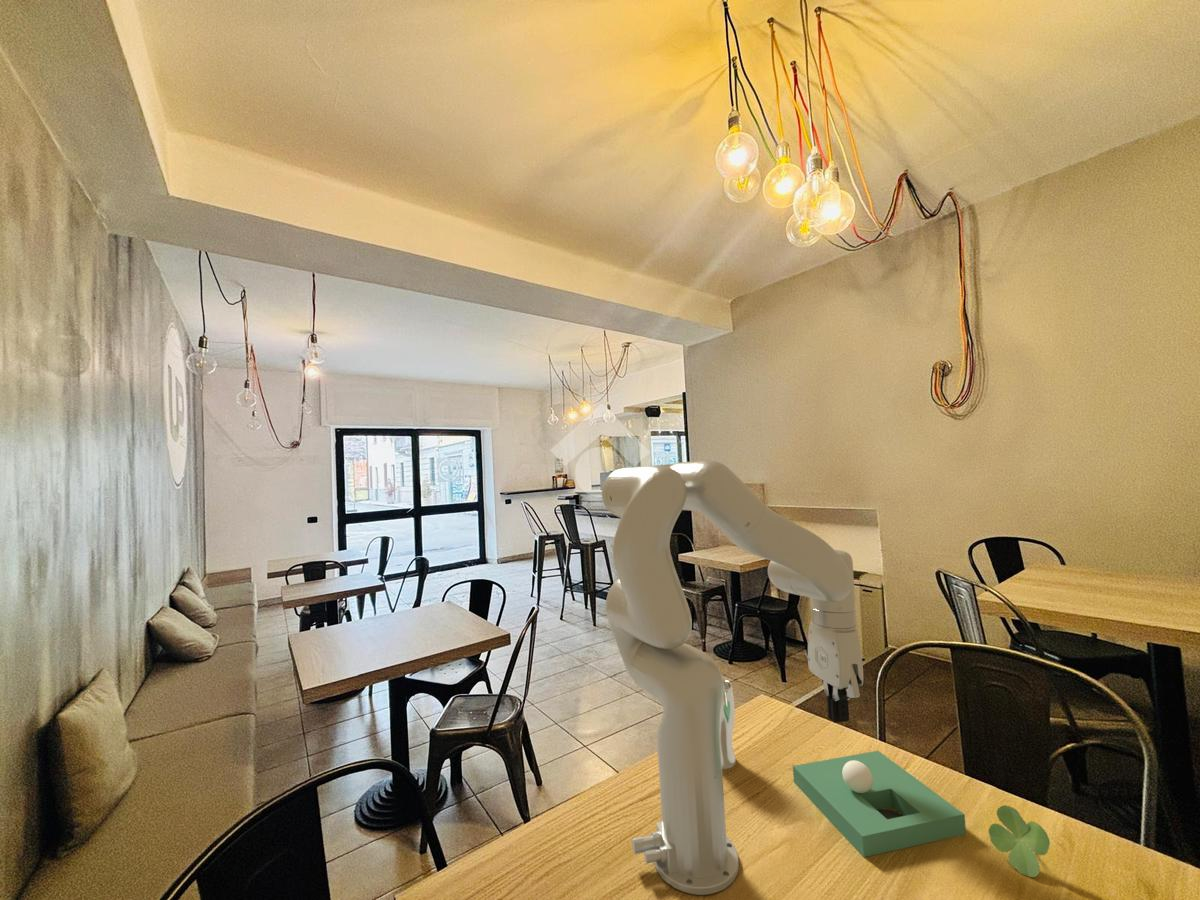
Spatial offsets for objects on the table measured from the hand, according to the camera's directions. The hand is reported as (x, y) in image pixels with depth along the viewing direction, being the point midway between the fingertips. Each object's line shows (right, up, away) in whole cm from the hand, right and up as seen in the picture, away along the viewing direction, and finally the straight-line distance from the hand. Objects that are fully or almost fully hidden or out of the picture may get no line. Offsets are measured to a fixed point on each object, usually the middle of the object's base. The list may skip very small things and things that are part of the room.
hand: (838, 719), depth 89 cm
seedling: (+21, -10, -17) cm, 28 cm away
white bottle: (-20, -13, +8) cm, 25 cm away
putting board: (+3, -11, -7) cm, 13 cm away
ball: (0, -6, -7) cm, 9 cm away
